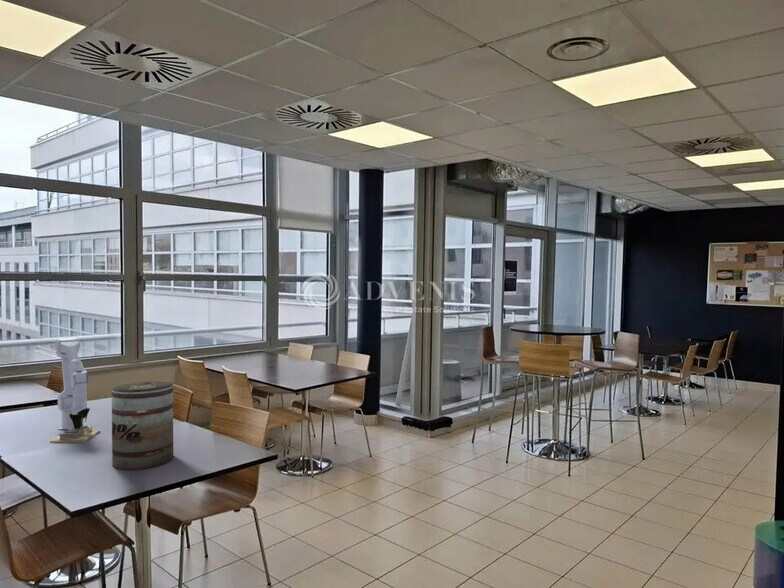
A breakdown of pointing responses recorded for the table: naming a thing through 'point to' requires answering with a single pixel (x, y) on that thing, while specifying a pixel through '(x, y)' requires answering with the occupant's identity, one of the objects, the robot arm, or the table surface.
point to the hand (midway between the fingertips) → (80, 426)
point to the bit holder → (75, 435)
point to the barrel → (142, 425)
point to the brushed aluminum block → (83, 424)
